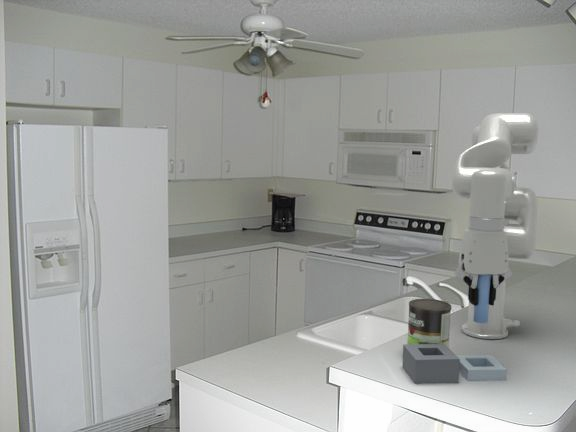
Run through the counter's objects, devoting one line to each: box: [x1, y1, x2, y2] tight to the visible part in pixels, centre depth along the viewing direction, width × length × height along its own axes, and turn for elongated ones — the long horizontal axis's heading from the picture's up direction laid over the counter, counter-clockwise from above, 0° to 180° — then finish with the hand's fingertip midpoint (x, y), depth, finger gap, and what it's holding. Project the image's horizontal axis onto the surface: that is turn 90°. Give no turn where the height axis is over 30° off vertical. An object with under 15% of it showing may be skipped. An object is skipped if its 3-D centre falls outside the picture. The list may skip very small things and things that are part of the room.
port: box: [402, 343, 460, 385], centre depth 138 cm, size 10×10×6 cm
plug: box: [473, 275, 491, 323], centre depth 138 cm, size 3×3×12 cm
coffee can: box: [406, 298, 452, 349], centre depth 149 cm, size 10×10×14 cm
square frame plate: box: [456, 354, 508, 382], centre depth 140 cm, size 9×9×3 cm
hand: (481, 303), depth 138 cm, fingers closed on plug, 3 cm apart
